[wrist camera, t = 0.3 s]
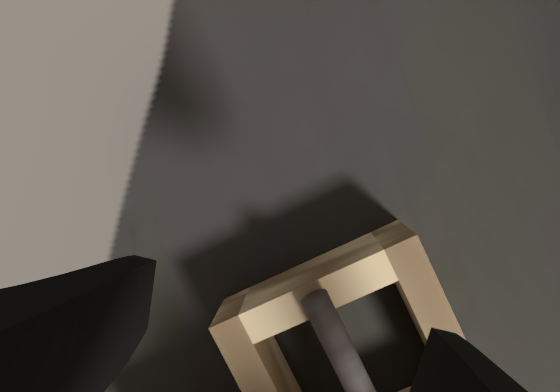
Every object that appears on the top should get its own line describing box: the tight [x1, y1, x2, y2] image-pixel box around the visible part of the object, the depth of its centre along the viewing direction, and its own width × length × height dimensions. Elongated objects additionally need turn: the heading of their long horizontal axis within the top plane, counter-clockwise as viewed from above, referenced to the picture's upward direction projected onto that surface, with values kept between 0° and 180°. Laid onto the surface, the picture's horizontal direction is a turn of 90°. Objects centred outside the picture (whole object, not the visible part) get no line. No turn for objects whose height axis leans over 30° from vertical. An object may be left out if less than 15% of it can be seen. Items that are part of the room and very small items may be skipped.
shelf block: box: [208, 220, 466, 392], centre depth 19 cm, size 10×10×5 cm
